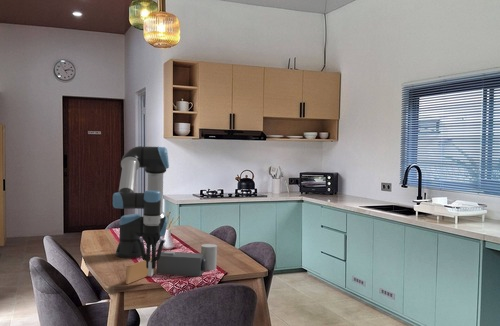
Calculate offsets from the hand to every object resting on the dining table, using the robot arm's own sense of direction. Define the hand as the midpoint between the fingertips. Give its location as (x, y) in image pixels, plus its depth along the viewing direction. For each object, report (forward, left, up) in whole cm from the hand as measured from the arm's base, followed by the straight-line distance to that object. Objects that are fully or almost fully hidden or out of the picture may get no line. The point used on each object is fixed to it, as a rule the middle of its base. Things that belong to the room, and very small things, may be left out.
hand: (150, 275), depth 216 cm
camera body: (+9, +21, -4) cm, 23 cm away
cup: (+21, +32, -4) cm, 38 cm away
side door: (-7, +6, -3) cm, 9 cm away
